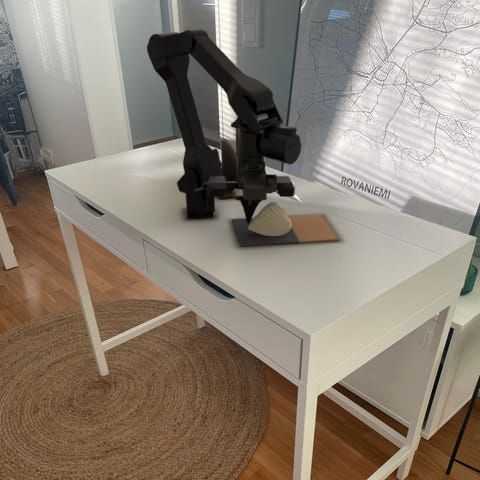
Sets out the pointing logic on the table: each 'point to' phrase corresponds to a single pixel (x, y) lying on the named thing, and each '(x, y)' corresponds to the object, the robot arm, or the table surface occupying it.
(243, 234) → the desk pad
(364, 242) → the table surface
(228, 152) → the letter holder
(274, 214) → the seashell
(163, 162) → the table surface
